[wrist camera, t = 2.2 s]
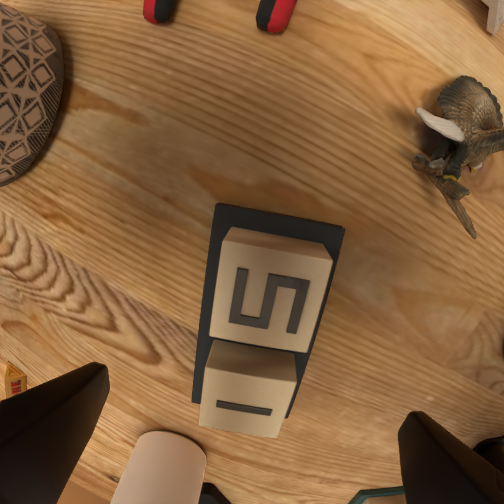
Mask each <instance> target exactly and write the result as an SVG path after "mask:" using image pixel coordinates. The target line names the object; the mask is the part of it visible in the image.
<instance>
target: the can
mask: <svg viewBox="0 0 504 504" xmlns="http://www.w3.org/2000/svg"><path fill="white" fill-rule="evenodd" d="M206 462H207V459H206V456H205V454H204V452H203V451H202V449H201V448H200V447H199V446H198V445H197V444H196V443H195V442H193V441H192V440H190V439H189V438H187V437H185V436H182V435H180V434H177V433H174V432H169V431H160V430H159V431H151V432H148V433H145V434H143V435H141V436H140V437H139V439H138V441H137V443H136V445H135V447H134V449H133V452H132V454H131V456H130V458H129V461H128V463H127V465H126V467H125V470H124V472H123V474H122V477H121V479H120V481H119V484H118V486H117V488H116V491H115V493H114V495H113V498H112V500H111V503H110V504H198V502H199V497H200V492H201V488H202V483H203V478H204V473H205V468H206Z"/></svg>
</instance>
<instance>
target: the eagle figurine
mask: <svg viewBox="0 0 504 504" xmlns="http://www.w3.org/2000/svg"><path fill="white" fill-rule="evenodd" d="M460 77H461V78H458V79H456V81H455V82H453V83H451V84H450V86H446V87H445V88H443V89H442V90H441V92H440V96H439V97H438V98H437V100H438V104H439V105H440V106H441V107H442V111H443V113H445V116H444V118H445V119H443V118H440V117H436V116H434V115H432V114H431V113H429V112H427V111H426V110H424V109H423V108H421V107H417V108H416V110H415V113H416V114H418V115H419V116H420V117H421V118H422V120H423V121H424V122H425V124H426V125H427V126H429V127H430V128H432V129H434V130H436V131H437V132H439V133H441V134H442V135H443V136H444V138H443V139H442V140H441V141H440V142H439V144H438V146H437V148H436V150H434V151H433V154H432V156H431V157H430V159H431V162H430V163H429V161H428V160H426V159H425V158H424V156H422V155H420V154H415V155H414V157H415V160H416V161H417V162H419V163H413V164H412V165H413V168H414V169H417V170H420V171H422V172H423V173H424V174H426V175H427V176H428V178H429V179H430V180H431V181H432V183H433V184H434V185H435V186H436V187H437V188H438V189H439V190H440V192H441V193H442V194H443V196H444V198H445V199H446V201H447V202H448V204H449V205H450V207H451V208H452V210H453V211H454V213H455V214H456V216H457V217H458V219H459V220H460V221H461V223H462V225H463V226H464V228H465V229H466V231H467V232H468V233H469V234H470V235H471V237H472V238H473V239H476V237H477V234H476V231H475V229H474V227H473V224H472V222H471V220H470V218H469V216H468V215H467V213H466V211H465V209H464V207H463V206H462V205H461V203H460V201H459V200H460V199H461V198H462V197H463V196H465V195H469V193H470V191H469V190H468V189H467V188H466V187H464V186H463V185H461V184H460V183H459V182H457V180H458V178H459V177H460V175H461V171H462V169H463V167H465V166H466V165H469V166H470V167H471V172H474V171H475V170H476V169H479V168H481V167H482V162H483V161H484V160H485V159H486V158H487V157H488V156H489V155H491V154H493V153H495V152H498V151H502V150H504V128H497V129H494V130H488V129H490V128H492V127H503V122H502V114H501V112H500V108H501V107H500V105H499V103H497V98H496V97H495V96H494V95H492V94H491V91H490V89H489V88H487V87H483V86H482V83H481V82H477V80H476V79H475V78H472V77H468V76H466V75H465V76H460ZM454 153H455V155H454V156H451V157H450V160H449V161H448V165H447V166H446V168H445V169H444V160H445V159H446V158H447V157H448V156H449V155H452V154H454Z"/></svg>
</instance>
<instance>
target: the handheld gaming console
mask: <svg viewBox="0 0 504 504" xmlns="http://www.w3.org/2000/svg"><path fill="white" fill-rule="evenodd" d="M198 504H230V503H229V502H228V500H227V499H226V498H225V497H224V496H223V495H222V494H221V493H220V492H219V491H218V490H217V488H216V487H215V486H214V485H212V484H209V483H203V485H202V488H201V492H200V497H199V502H198Z"/></svg>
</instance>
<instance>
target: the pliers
mask: <svg viewBox="0 0 504 504" xmlns="http://www.w3.org/2000/svg"><path fill="white" fill-rule="evenodd" d="M296 1H297V0H261V1H260V4H259V8H258V12H257V15H256V22H257V27H258V28H259V29H261V30H263V31H268V32H274V33H276V32H280V31H282V30H283V29H284V28H285V27H286V26H287V23H288V21H289V19H290V17H291V15H292V13H293V10H294V7H295V4H296ZM175 3H176V0H144V7H143V15H144V18H145V19H146V20H147V21H149V22H151V23H164V22H166V21H168V20H169V19H170V18H171V16H172V13H173V10H174V6H175Z"/></svg>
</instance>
